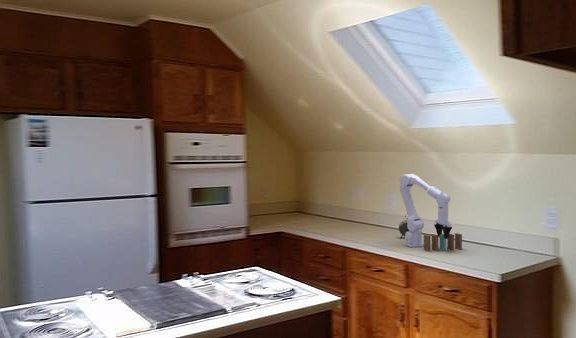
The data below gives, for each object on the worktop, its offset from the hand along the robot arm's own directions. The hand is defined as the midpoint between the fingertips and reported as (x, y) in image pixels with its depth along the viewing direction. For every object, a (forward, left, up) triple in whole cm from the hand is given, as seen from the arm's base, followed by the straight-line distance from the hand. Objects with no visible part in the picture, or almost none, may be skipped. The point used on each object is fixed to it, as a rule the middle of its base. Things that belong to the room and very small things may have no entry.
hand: (442, 237), depth 294 cm
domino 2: (-5, 0, -7) cm, 9 cm away
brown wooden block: (-10, 0, -7) cm, 12 cm away
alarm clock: (-4, +39, -8) cm, 40 cm away
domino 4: (+10, 0, -7) cm, 12 cm away
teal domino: (0, 0, -7) cm, 7 cm away
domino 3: (+5, 0, -7) cm, 9 cm away
